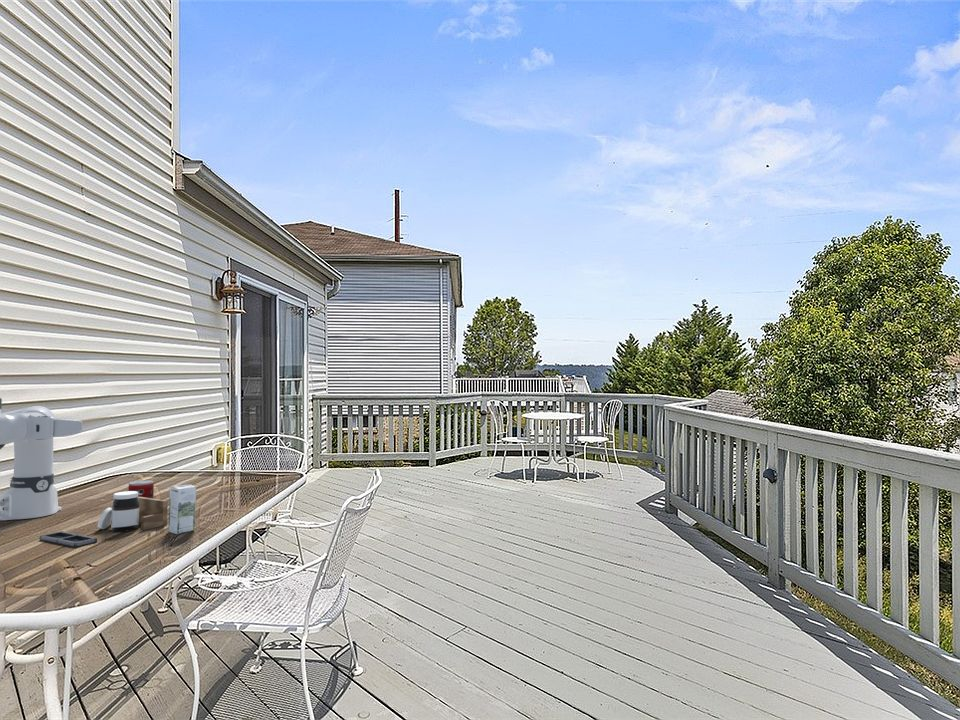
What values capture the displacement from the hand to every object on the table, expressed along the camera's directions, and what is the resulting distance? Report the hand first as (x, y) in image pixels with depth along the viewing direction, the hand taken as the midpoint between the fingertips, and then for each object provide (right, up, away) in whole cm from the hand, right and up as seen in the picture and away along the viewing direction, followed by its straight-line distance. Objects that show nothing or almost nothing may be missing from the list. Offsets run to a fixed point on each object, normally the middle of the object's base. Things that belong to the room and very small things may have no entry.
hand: (79, 424), depth 179 cm
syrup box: (+33, -35, 0) cm, 48 cm away
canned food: (+3, -36, +27) cm, 45 cm away
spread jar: (+11, -35, +3) cm, 37 cm away
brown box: (+14, -35, +9) cm, 38 cm away
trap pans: (+5, -34, -11) cm, 36 cm away
